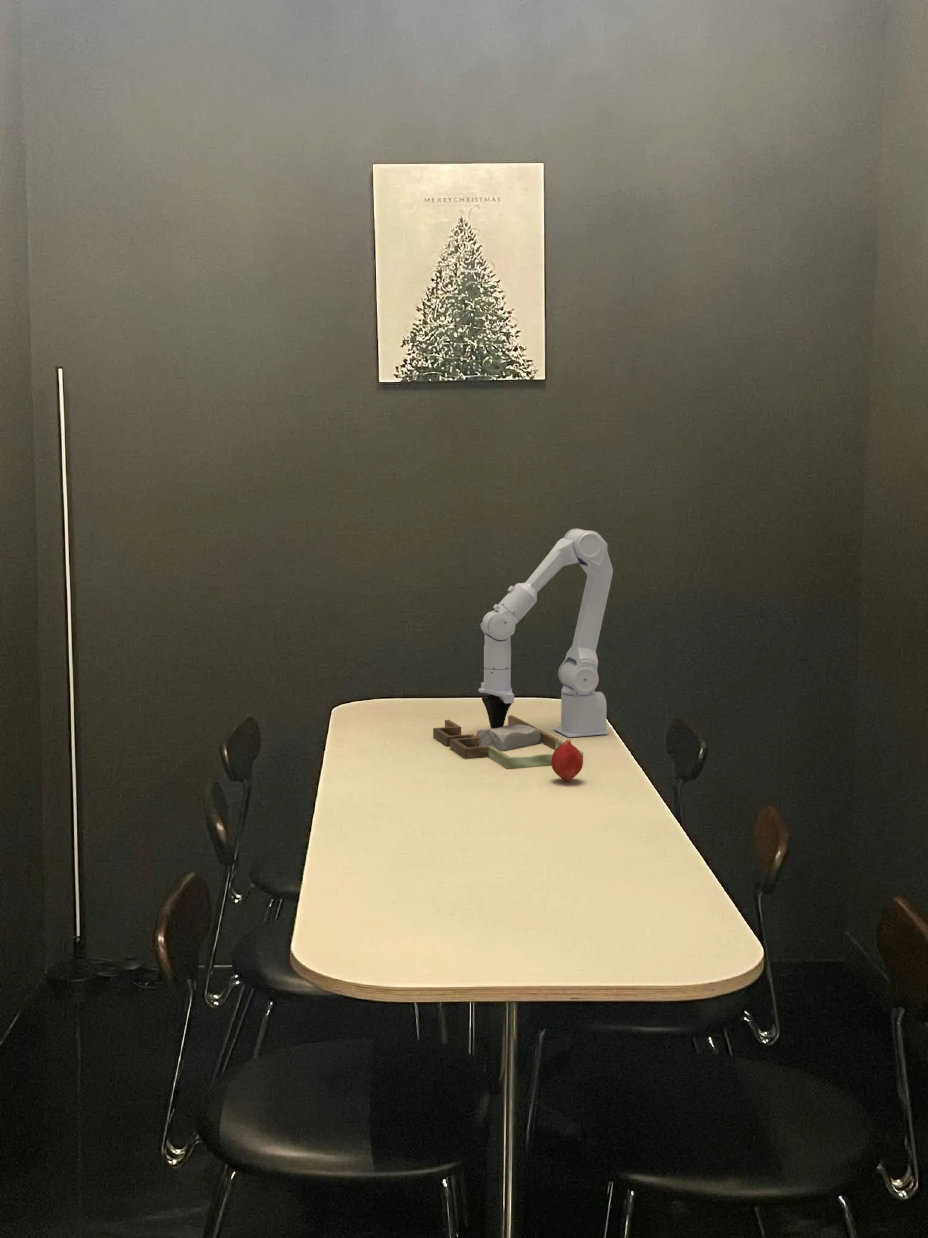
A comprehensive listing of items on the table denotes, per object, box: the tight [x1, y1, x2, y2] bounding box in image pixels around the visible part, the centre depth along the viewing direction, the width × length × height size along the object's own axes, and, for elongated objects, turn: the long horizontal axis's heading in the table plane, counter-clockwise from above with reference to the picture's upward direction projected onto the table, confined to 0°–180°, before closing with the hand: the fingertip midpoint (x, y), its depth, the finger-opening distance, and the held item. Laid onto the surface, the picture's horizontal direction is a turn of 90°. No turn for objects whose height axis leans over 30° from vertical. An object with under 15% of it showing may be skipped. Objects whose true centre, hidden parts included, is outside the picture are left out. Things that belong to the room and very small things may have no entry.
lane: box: [432, 714, 584, 770], centre depth 249 cm, size 21×37×2 cm, turn 20°
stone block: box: [475, 724, 541, 752], centre depth 251 cm, size 12×5×10 cm
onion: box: [551, 738, 584, 783], centre depth 221 cm, size 6×6×8 cm
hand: (496, 730), depth 257 cm, fingers closed
